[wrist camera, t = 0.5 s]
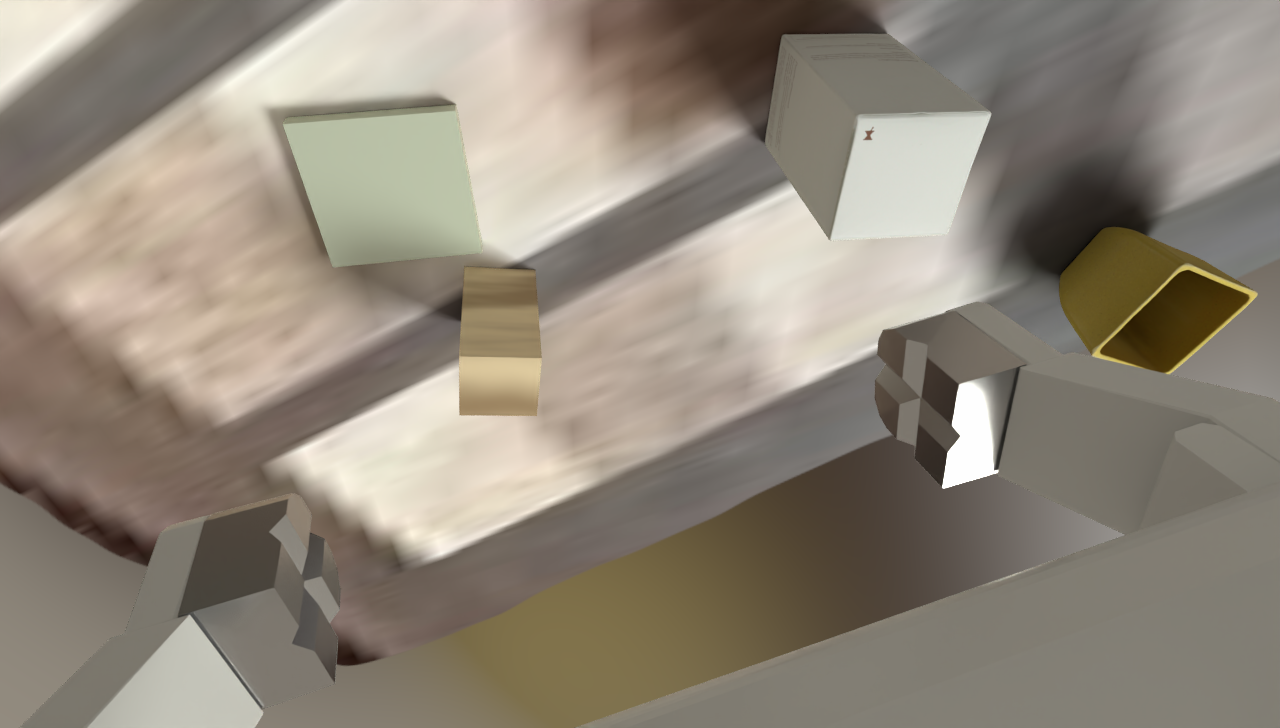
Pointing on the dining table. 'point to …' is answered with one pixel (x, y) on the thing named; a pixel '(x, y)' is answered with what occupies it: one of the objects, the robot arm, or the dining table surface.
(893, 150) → the supplement box
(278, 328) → the dining table surface
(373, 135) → the tile
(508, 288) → the beech block
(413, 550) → the dining table surface
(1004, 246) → the dining table surface
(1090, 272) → the flower pot
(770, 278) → the dining table surface
